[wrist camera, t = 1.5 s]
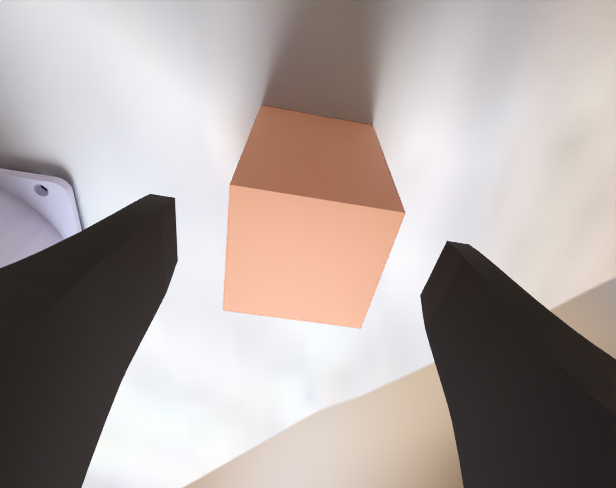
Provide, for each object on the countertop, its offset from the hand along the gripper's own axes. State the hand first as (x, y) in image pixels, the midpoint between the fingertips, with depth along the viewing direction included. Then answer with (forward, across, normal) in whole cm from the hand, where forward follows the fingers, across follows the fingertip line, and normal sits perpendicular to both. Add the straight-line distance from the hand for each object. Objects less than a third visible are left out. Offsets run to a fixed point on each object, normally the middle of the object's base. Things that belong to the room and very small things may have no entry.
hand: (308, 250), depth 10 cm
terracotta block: (+5, 0, 0) cm, 5 cm away
